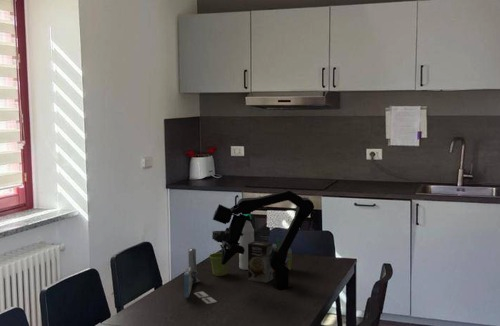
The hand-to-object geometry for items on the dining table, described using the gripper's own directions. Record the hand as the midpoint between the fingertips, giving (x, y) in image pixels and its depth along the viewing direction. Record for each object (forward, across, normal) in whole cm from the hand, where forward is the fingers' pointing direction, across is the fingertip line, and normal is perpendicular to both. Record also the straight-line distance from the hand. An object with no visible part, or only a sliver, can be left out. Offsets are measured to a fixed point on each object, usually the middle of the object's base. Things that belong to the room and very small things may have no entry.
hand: (222, 264), depth 253 cm
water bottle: (+2, -27, +23) cm, 36 cm away
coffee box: (+3, -8, +22) cm, 24 cm away
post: (+13, -17, -3) cm, 22 cm away
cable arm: (+14, -5, -8) cm, 17 cm away
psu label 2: (+14, +10, -4) cm, 18 cm away
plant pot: (+8, -23, +10) cm, 26 cm away
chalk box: (-3, -17, +34) cm, 39 cm away
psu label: (+14, +2, -5) cm, 15 cm away
